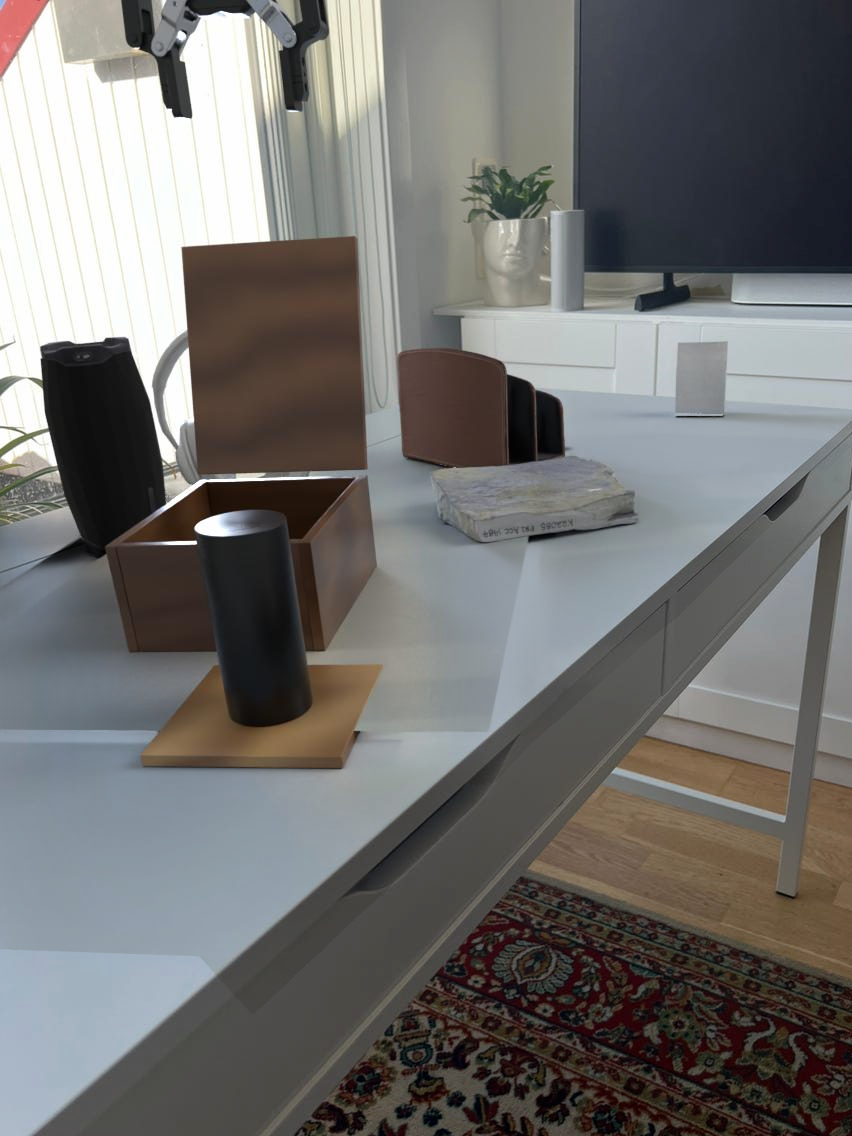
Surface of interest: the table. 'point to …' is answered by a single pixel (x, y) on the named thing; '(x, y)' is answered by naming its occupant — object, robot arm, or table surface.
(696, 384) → the grey rectangular block
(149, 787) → the table surface
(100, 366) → the portable speaker
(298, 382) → the lid
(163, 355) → the headphones
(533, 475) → the fossil
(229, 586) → the tin
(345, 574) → the wooden box
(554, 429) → the letter holder
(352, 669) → the board
